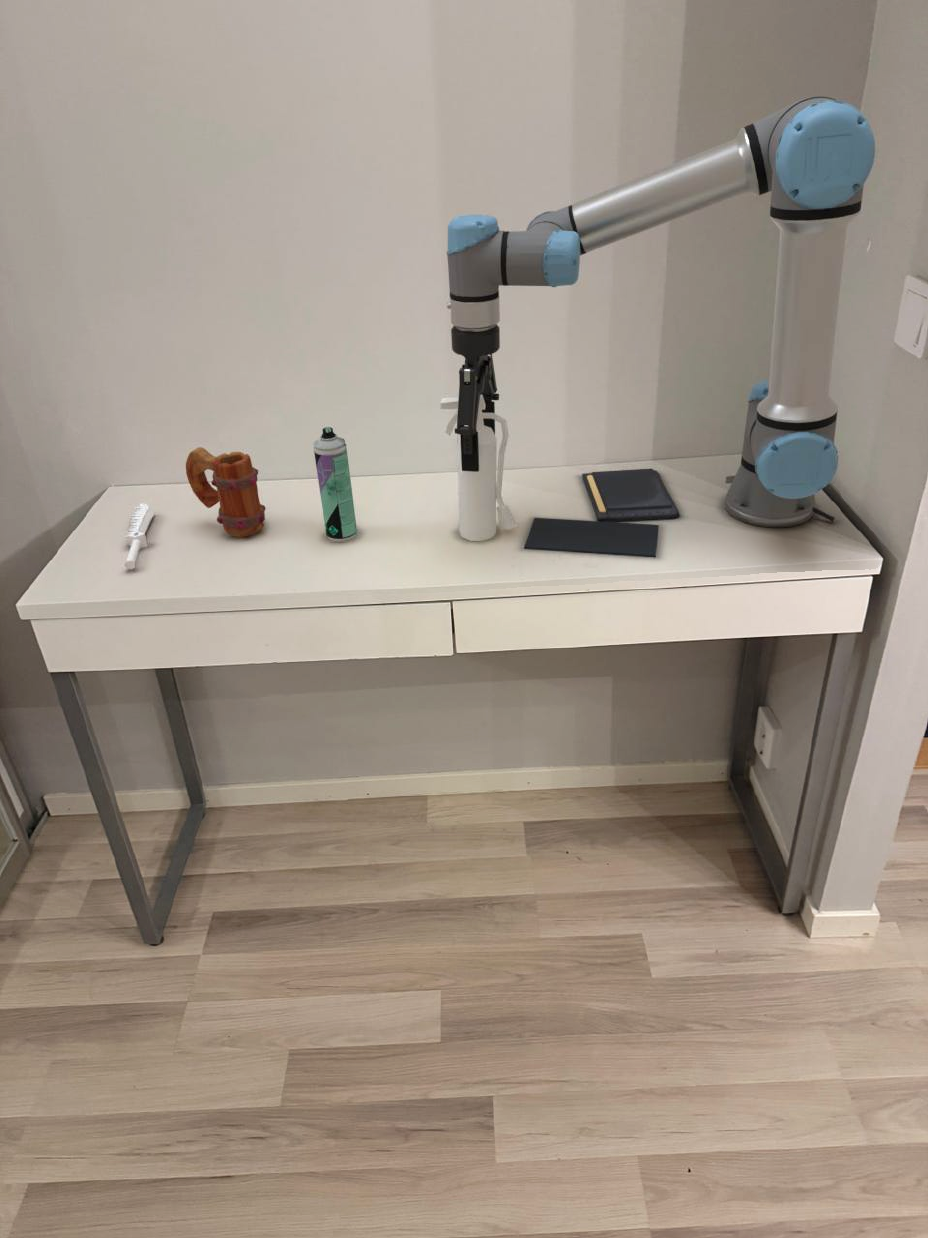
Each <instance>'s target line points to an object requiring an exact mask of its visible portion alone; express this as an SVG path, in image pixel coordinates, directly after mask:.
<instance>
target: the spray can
mask: <svg viewBox="0 0 928 1238" xmlns="http://www.w3.org/2000/svg"><path fill="white" fill-rule="evenodd" d="M313 453H314V461H315V468H316V474H317V482H318V487H319V495H320V500H321V501H320V502H321V508H322V514H323V515H322V516H323V522H324V529H325V533H326V534H325V535H326V539H327V540H328V541H329V542H332V543H346V542H350V541H353V540H354V539H355V538H356V537H357V536H358V527H357V521H356V511H355V504H354V495H353V488H352V481H351V480H352V479H351V473H350V472H351V471H350V464H349V457H348V449H347V444H346V440H345V439H344V438H342V437H340V436H338V435H337V433H335V432H334V428H333V427H331V426H326V427H323V428H322V434H321V435H320V436H319V438H318V439H317V440H315V441H314V442H313Z"/></svg>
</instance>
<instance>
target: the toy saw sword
mask: <svg viewBox="0 0 928 1238" xmlns="http://www.w3.org/2000/svg"><path fill="white" fill-rule="evenodd" d="M154 515H155V509H153V508H151V507H150V506H149V505H148V504H147V503H139V505H138V506H135V507H133V512H132V515H131V516H130V517H131V518H130V520H131V521H130V524H129V526H130V527H128V530H127V531H126V536H124V539H127V541H128V542H127V543H126V544H127V545H128V546H129V551H128V555H127V559H126V561H125V562H124V566H125V568H126V569H128V570H133V569H135V567H136V561H137V558H138V555H139V551H140V550H141V549H144V548H148V547H149V545H148V541H147V537H146V533H147V530H148V528H149V526H150V524H151V523H152V521H153V517H154Z"/></svg>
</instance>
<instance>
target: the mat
mask: <svg viewBox="0 0 928 1238" xmlns="http://www.w3.org/2000/svg"><path fill="white" fill-rule="evenodd" d="M659 527H660V526H659V524H653V523H652V524H649V523H636V522H635V523H634V522H633V523H632V522H619V521H607V522H600V521H598V520H582V519H581V520H580V519H565V518H564V519H563V518H561V519H560V518H548V517H546V518H545V517H534V518H533V520H532V522H531V525H530V529H529V531H528V534H527V537H526V540H525V544H524V546H523V549H525V550H539V551H540V550H541V551H554V552H555V551H556V552H568V553H569V552H571V553H586V554H600V555H602V554H603V555H614V556H615V555H617V556H629V557H631V556H632V557H644V558H645V557H647V558H656V556H657V546H658V537H659Z"/></svg>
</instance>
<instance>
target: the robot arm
mask: <svg viewBox="0 0 928 1238" xmlns="http://www.w3.org/2000/svg"><path fill="white" fill-rule="evenodd" d="M875 156H876V141H875V135H874V132H873V130H872V127H871V125H870V123H869V121H868V119H867V118H866V117H865V116H864V114H863V113H862V112H861V111H860V110H859V109H858V108H856V107H855V106H853V105H852V104H850V103H847V102H844V101H842V100H837V99H835V98H832V97H828V96H823V95H817V96H816V95H815V96H809V97H806V98H802V99H799V100H797V101H796V102H793V103H791V104H789V105H787V106H785V107H783V108H782V109H780V110H778V111H776V112H773V113H772V114H770V115H768V116H766V117H764V118H761V119H759V120H757V121H755V122H753V123H751V124H748V125H746V126H743V127H741V128H740V130H739V131H738V134H737V136H736V137H735V138H733V139H731V140H729V141H726V142H723V143H721V144H719V145H716V146H713V147H711V148H709V149H706V150H704V151H701V152H698V153H696V154H694V155H691V156H689V157H686V158H684V159H681V160H679V161H676V162H674V163H672V164H669V165H666V166H664V167H661V168H659V169H656V170H654V171H651V172H649V173H646V174H644V175H641V176H639V177H637V178H634V179H632V180H628V181H626V182H624V183H621V184H619V185H617V186H613V187H611V188H609V189H607V190H604V191H602V192H599V193H597V194H594V195H592V196H589V197H587V198H586V197H585V198H584V199H582V200H580V201H577V202H574V203H572V204H570V205H568V206H565V207H564V206H563V207H562V208H560V209H557V210H548V211H544V212H542V213H540V214H538V215H536V216H535V217H534V218H533V219H532V220H531V221H530V222H529V224H528V225H527V227H526V230H525V231H524V230H522V231H521V230H519V231H516V230H515V231H509V230H508V231H507V230H500V227H499V223H498V219H497V218H496V217H495V216H493V215H488V214H485V215H484V214H466V215H460V216H457V217H453V218H452V220H450V222H449V223H448V224H447V250H446V258H447V268H448V269H447V272H448V287H449V302H447V304H446V308H447V309H448V310H450V323H451V325H452V328H450V337H451V351H452V352H453V353H454V354H456V355H458V356H462V357H463V358H464V364H462V365H461V367H460V368H459V371H458V375H459V376H458V377H459V383H458V385H459V386H458V397H459V401H458V409H457V410H458V417H457V422H456V427H454V434H455V435H459V434H460V439H461V463H462V471H473V472H478V471H479V448H478V432H476V427H477V418H478V409H479V400H480V395H483V398H484V401H485V405H486V406H485V410H482V413H494V414H496V413H495V411H496V409H495V408H496V407H495V406H496V405H495V404H496V403H495V401H499V400H500V393H497V391H498V387H497V386H498V385H497V379H496V373H495V365H494V359H493V354H495V353H497V352H498V351H499V350H500V348H501V339H500V338H501V336H500V335H501V334H500V329H501V328H500V326H499V325H498V324H499V322H501V316H500V315H501V313H500V311H501V310H500V290H499V289H500V288H499V287H500V286H503V287H508V286H512V287H513V286H515V287H516V286H517V287H551V288H557V287H561V286H563V287H564V286H573V285H574V284H576V283H577V282H578V280H579V274H580V263H581V262H580V260H581V256H583V255H585V254H588V253H590V252H593V251H595V250H598V249H601V248H604V247H606V246H609V245H611V244H614V243H617V242H619V241H622V240H625V239H627V238H630V237H633V236H636V235H638V234H640V233H643V232H646V231H648V230H652V229H654V228H656V227H659V226H662V225H664V224H667V223H669V222H670V223H671V222H672V221H675V220H677V219H680V218H683V217H685V216H688V215H691V214H693V213H696V212H699V211H701V210H703V209H707V208H709V207H712V206H716V205H718V204H720V203H723V202H727V201H728V200H731V199H733V198H736V197H738V196H739V197H740V196H741V195H745V194H747V193H748V194H751V195H753V196H755V197H760V196H761V195H764V194H767V193H770V208H769V219H770V220H771V221H772V222H773V224H774V225H775V226H776V227H777V228H778V229H779V241H778V242H779V243H778V255H777V256H778V257H777V269H776V270H777V272H776V282H775V283H776V286H775V299H774V310H773V311H774V312H773V328H772V341H771V354H770V365H769V366H770V367H769V368H770V369H769V379H765V380H761V381H757V382H755V383H754V384H753V385H752V386H751V388H750V391H749V397H748V398H747V403H748V404H747V405H748V406H747V412H746V419H745V427H744V435H743V441H742V451H741V459H740V464H739V467H738V469H737V472H736V473H735V475H729V476H726V477H725V482H724V484H725V485H726V484H730V485H729V487H728V489H727V491H726V494H725V500H724V508H725V510H726V512H727V513H728V514H729V515H730V516H732V517H733V518H735V519H737V520H738V521H741V522H743V523H746V524H749V525H754V526H759V527H765V528H786V527H788V528H789V527H795V526H798V525H802V524H804V523H806V522H808V521H809V520H811V518H813V516H814V514H817V515H819V516H821V517H823V518H825V519H827V520H829V521H830V522H834V521H835V519H836V517H835V516H833V515H831V514H828V513H826V512H825V511H823V510H820V509H818V508H816V497H815V494H817V493H819V492H820V491H821V490H823V489H824V488H825V487H827V486H828V485H829V484H830V483H831V482H832V480H833V479H834V477H835V475H836V473H837V470H838V466H839V455H838V453H839V452H838V449H837V447H836V444H835V438H836V427H837V419H838V411H839V405H838V404H837V402H836V401H835V400H834V399H833V398H832V397H830V394H829V393H830V385H831V377H832V376H831V375H832V365H833V358H834V357H833V356H834V347H835V338H836V331H837V330H836V328H837V319H838V311H839V300H840V293H841V282H842V275H843V274H842V273H843V264H844V254H845V246H846V237H847V227H848V226H849V224H851V223H852V221H854V219H856V217H858V216H859V215H860V214H861V210H862V202H863V195H864V185H865V183H866V181H867V180H868V177H869V176H870V173H871V171H872V169H873V166H874V162H875ZM483 422H484V425H485V426H487V427H490V428H492V430H493V432H494V434H495V435H496V420H494V419H490V418H483Z"/></svg>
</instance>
